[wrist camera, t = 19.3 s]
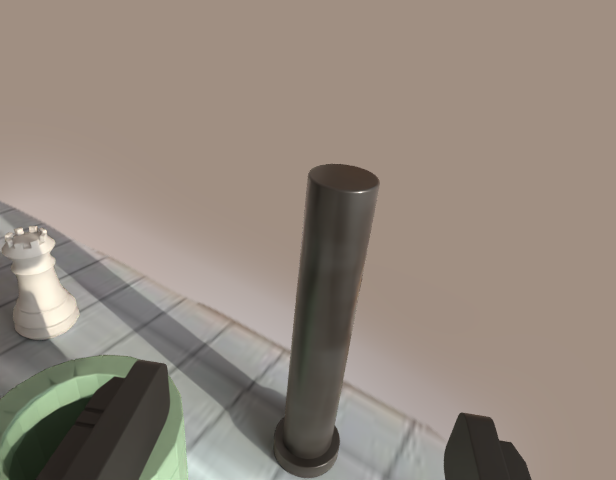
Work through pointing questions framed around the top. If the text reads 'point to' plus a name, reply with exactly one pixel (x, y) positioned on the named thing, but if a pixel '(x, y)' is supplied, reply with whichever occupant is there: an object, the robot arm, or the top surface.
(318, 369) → the rod
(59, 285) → the rook chess piece
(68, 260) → the top surface
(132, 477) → the robot arm
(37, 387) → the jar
